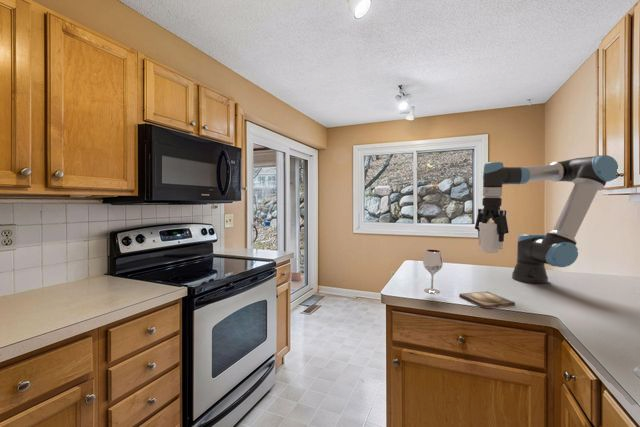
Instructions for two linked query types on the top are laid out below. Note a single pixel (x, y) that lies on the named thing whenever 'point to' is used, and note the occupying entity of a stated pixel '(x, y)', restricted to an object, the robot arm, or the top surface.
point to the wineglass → (432, 266)
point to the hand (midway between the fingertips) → (490, 247)
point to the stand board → (486, 299)
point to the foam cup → (488, 237)
